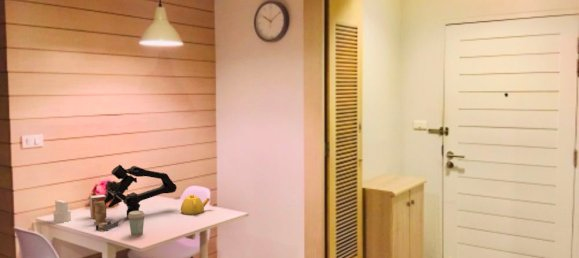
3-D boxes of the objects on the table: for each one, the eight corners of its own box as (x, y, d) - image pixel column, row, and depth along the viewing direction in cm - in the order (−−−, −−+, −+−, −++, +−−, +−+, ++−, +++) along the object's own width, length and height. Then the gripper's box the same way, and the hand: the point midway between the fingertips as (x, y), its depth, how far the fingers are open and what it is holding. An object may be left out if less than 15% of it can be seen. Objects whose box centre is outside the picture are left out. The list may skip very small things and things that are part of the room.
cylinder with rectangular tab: (74, 220, 275) (73, 200, 274) (59, 224, 268) (58, 203, 267) (65, 218, 280) (64, 198, 279) (50, 221, 273) (49, 201, 272)
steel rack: (110, 224, 266) (109, 220, 266) (118, 225, 264) (118, 221, 264) (95, 230, 256) (95, 225, 256) (104, 231, 254) (104, 226, 254)
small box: (92, 219, 277) (91, 197, 276) (90, 217, 282) (89, 195, 281) (106, 217, 281) (106, 196, 280) (104, 215, 287) (103, 194, 286)
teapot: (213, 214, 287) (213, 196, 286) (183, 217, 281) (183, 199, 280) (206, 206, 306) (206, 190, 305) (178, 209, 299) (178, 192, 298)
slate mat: (106, 221, 273) (106, 220, 273) (107, 224, 267) (107, 223, 267) (93, 222, 271) (93, 221, 271) (94, 225, 264) (94, 224, 264)
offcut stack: (103, 228, 260) (103, 222, 259) (108, 229, 259) (108, 222, 258) (98, 230, 256) (97, 224, 256) (103, 231, 255) (102, 224, 254)
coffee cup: (138, 237, 243) (137, 215, 242) (125, 236, 246) (124, 213, 245) (148, 233, 251) (148, 211, 249) (135, 231, 254) (135, 209, 253)
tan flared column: (103, 221, 272) (102, 200, 270) (105, 222, 269) (104, 202, 268) (95, 222, 269) (94, 202, 268) (97, 224, 266) (96, 203, 265)
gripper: (109, 173, 279) (90, 194, 273) (119, 178, 265) (100, 200, 259) (122, 184, 285) (105, 205, 279) (134, 189, 270) (115, 211, 264)
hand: (106, 205), depth 270 cm, fingers open, 9 cm apart
